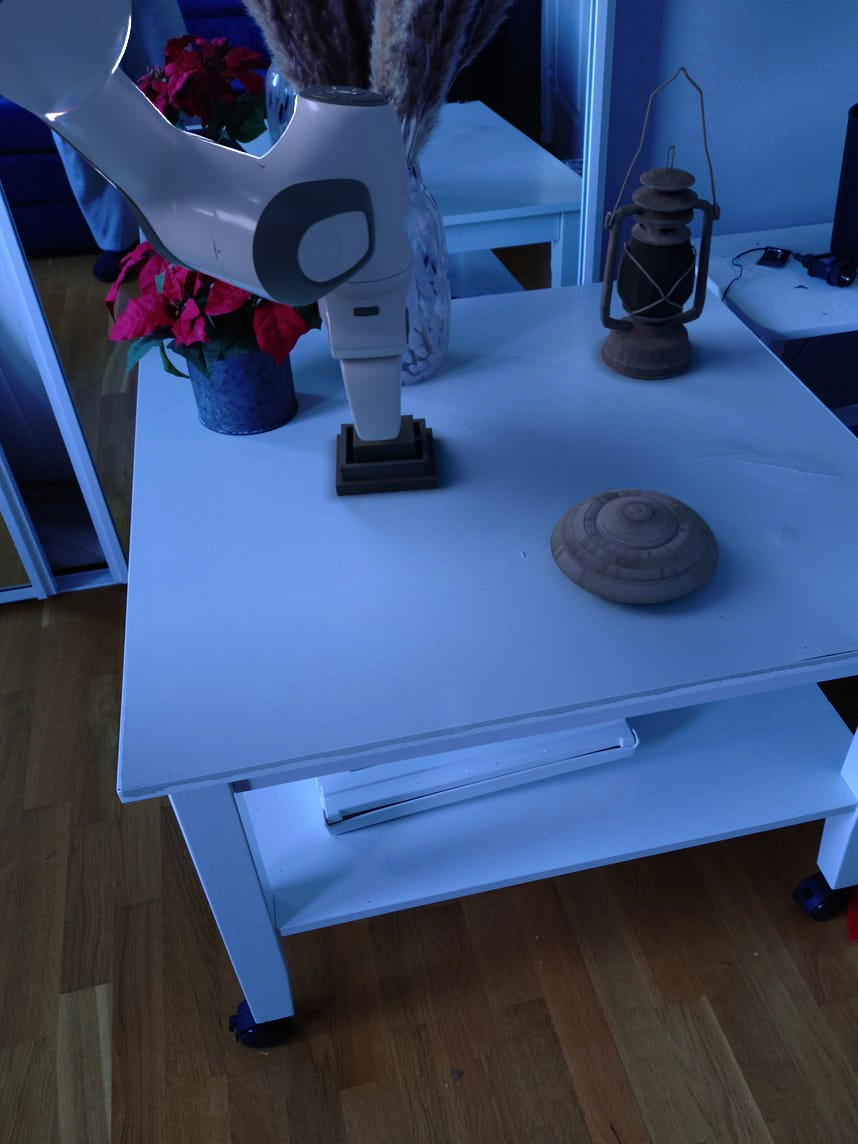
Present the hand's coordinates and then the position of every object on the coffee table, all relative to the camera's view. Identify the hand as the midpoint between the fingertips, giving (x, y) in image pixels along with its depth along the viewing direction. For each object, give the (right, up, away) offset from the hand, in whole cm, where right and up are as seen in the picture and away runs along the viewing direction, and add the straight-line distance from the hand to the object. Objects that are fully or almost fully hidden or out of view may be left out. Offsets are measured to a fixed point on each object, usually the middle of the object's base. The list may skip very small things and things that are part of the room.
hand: (382, 426), depth 92 cm
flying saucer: (+24, -14, -7) cm, 28 cm away
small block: (0, -2, +3) cm, 4 cm away
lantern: (+29, +12, +17) cm, 36 cm away
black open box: (0, -3, +3) cm, 5 cm away
